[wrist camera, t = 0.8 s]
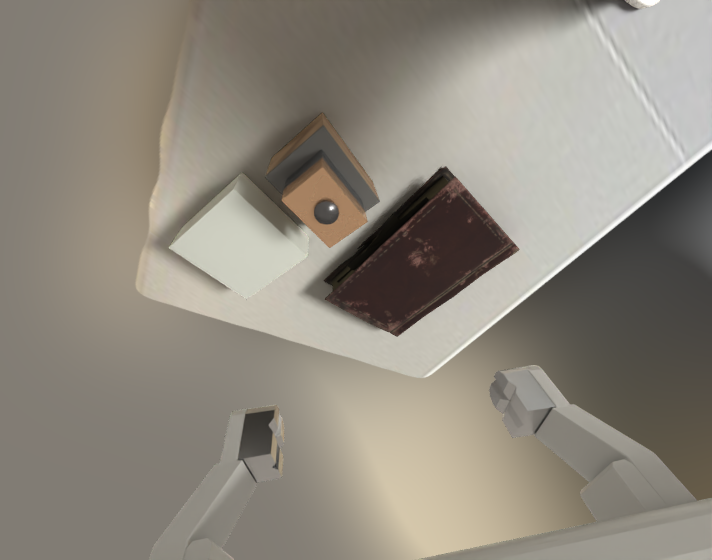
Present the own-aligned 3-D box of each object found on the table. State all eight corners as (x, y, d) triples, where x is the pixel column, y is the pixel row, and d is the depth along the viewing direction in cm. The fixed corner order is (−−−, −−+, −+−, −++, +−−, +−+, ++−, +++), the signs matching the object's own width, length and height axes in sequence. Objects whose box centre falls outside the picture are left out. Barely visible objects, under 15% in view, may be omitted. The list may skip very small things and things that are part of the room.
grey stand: (242, 172, 36) (233, 189, 32) (308, 236, 43) (307, 256, 39) (182, 226, 40) (168, 247, 36) (252, 277, 47) (246, 299, 43)
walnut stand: (322, 112, 33) (323, 126, 28) (372, 180, 38) (379, 201, 34) (271, 157, 35) (264, 177, 31) (325, 215, 41) (326, 239, 36)
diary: (506, 235, 48) (523, 253, 44) (394, 319, 58) (400, 340, 55) (439, 159, 38) (453, 174, 34) (319, 276, 49) (320, 298, 45)
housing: (321, 149, 30) (322, 168, 25) (361, 199, 34) (368, 223, 29) (285, 179, 31) (281, 202, 27) (328, 224, 35) (329, 250, 31)
